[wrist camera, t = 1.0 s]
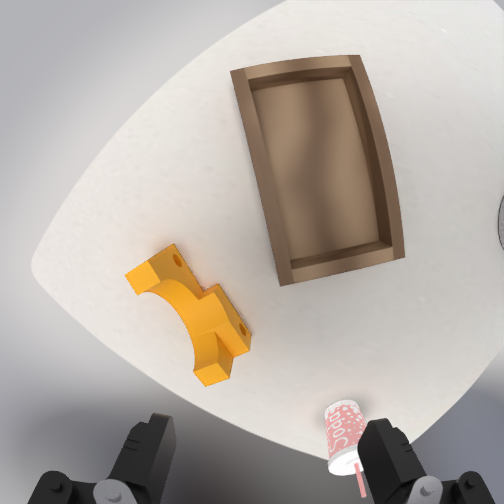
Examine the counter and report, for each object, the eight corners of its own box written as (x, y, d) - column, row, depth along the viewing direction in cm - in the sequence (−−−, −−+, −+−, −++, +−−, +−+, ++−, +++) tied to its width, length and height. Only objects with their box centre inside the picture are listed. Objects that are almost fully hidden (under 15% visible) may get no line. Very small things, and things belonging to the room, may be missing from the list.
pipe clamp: (251, 334, 28) (247, 371, 21) (216, 349, 28) (205, 386, 22) (188, 234, 26) (164, 248, 19) (154, 255, 26) (124, 275, 20)
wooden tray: (348, 69, 21) (359, 54, 17) (388, 248, 25) (405, 257, 21) (234, 86, 22) (229, 71, 18) (278, 273, 26) (280, 286, 22)
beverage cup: (354, 388, 29) (386, 476, 15) (368, 412, 30) (397, 490, 16) (311, 409, 30) (325, 500, 16) (329, 430, 31) (345, 511, 17)
